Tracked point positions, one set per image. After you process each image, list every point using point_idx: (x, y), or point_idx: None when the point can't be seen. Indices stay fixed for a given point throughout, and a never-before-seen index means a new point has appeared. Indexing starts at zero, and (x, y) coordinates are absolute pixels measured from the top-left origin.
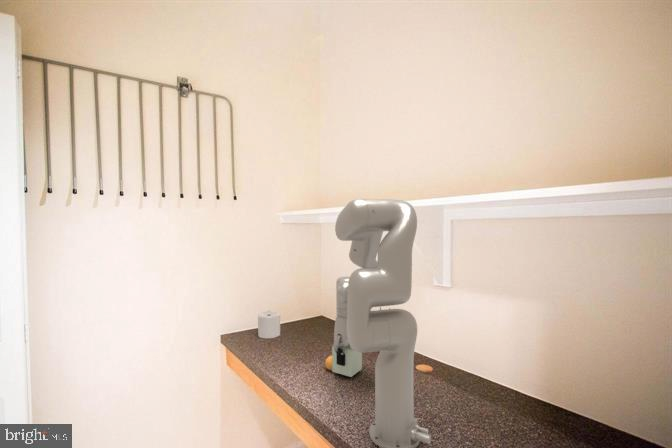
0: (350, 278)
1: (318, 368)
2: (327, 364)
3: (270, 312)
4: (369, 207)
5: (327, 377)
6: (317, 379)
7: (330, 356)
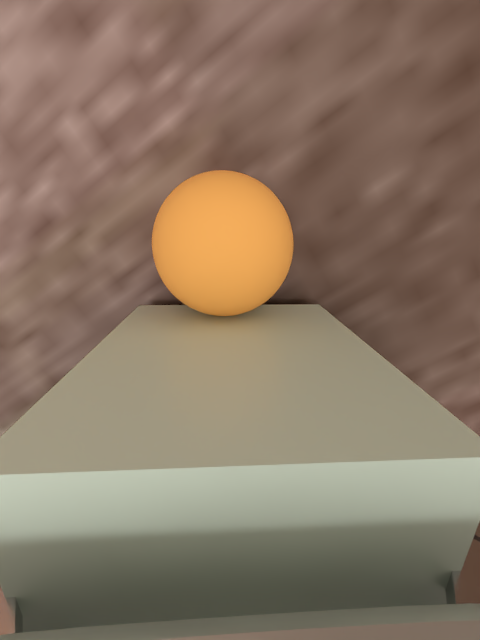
0: None
1: (179, 111)
2: (152, 237)
3: None
4: None
5: (94, 287)
6: (13, 240)
7: (209, 239)
